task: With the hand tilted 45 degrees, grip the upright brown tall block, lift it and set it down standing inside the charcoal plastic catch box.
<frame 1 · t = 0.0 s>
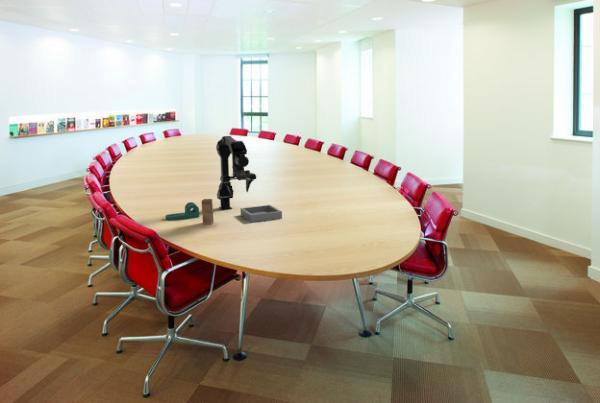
hand: (239, 193, 262), 15 cm above the table, tool pointing down, fingers open, 9 cm apart
brown tall block: (208, 223, 258), on the table
bracket: (182, 218, 271), on the table
catch box: (261, 216, 270), on the table
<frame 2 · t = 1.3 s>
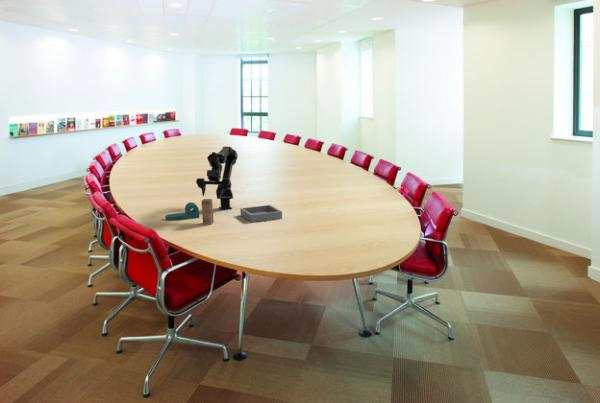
hand: (211, 195, 262), 13 cm above the table, tool tilted 45°, fingers open, 9 cm apart
nothing on the table moved.
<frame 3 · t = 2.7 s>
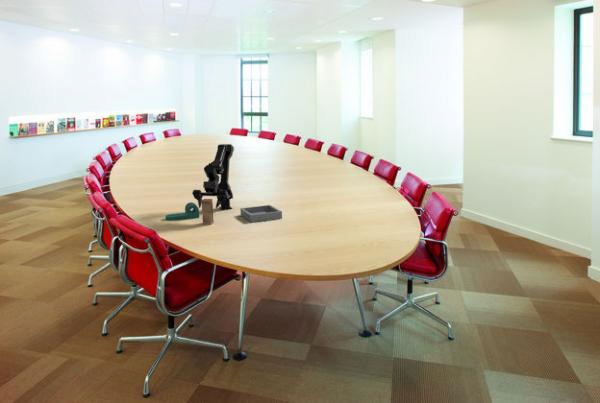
hand: (207, 207, 257), 8 cm above the table, tool tilted 45°, fingers open, 9 cm apart
nothing on the table moved.
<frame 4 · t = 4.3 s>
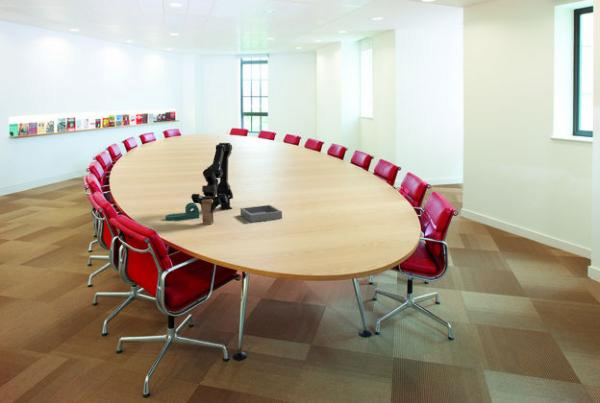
hand: (206, 212, 255), 7 cm above the table, tool tilted 45°, fingers closed on brown tall block, 4 cm apart
brown tall block: (208, 223, 258), on the table, touching gripper
everything else where it was.
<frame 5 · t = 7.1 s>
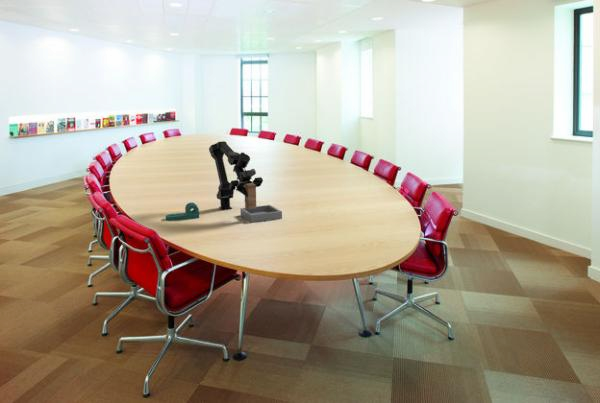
hand: (251, 196, 260), 13 cm above the table, tool tilted 45°, fingers closed on brown tall block, 4 cm apart
brown tall block: (250, 207, 263), point 7 cm above the table, touching gripper
everything else where it was.
when the fingers open (8 cm above the table, at t = 9.6 s): brown tall block stays where it is, resting on catch box.
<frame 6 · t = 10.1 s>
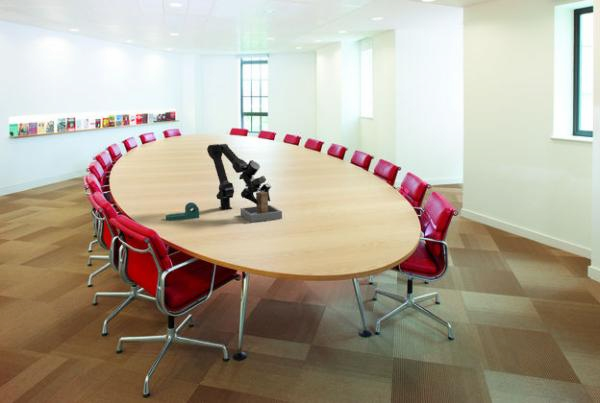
hand: (263, 202, 267), 9 cm above the table, tool tilted 45°, fingers open, 9 cm apart
brown tall block: (262, 215, 269), point 1 cm above the table, touching catch box
everything else where it was.
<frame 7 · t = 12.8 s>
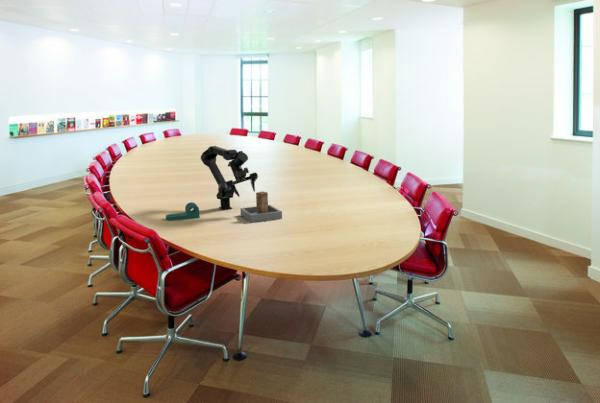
hand: (247, 194, 272), 12 cm above the table, tool tilted 35°, fingers open, 9 cm apart
nothing on the table moved.
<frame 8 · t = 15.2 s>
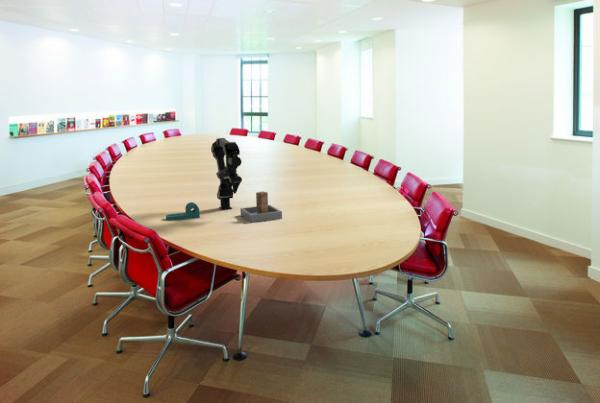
hand: (232, 192, 274), 13 cm above the table, tool pointing down, fingers open, 9 cm apart
nothing on the table moved.
at the end: brown tall block inside the target area on the catch box (1.2 cm from its centre), point 1.0 cm above the catch box's base; brown tall block tilted 0°; the gripper is holding nothing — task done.
